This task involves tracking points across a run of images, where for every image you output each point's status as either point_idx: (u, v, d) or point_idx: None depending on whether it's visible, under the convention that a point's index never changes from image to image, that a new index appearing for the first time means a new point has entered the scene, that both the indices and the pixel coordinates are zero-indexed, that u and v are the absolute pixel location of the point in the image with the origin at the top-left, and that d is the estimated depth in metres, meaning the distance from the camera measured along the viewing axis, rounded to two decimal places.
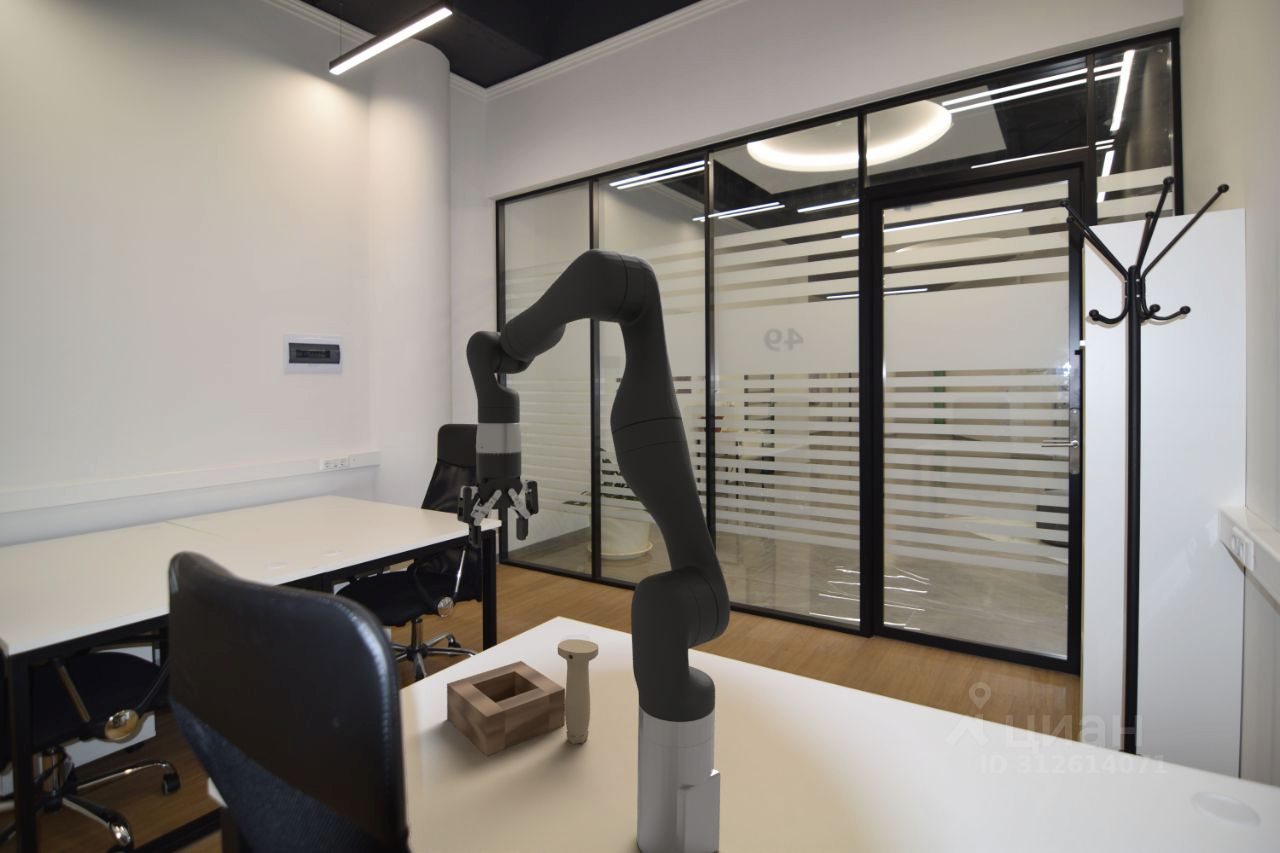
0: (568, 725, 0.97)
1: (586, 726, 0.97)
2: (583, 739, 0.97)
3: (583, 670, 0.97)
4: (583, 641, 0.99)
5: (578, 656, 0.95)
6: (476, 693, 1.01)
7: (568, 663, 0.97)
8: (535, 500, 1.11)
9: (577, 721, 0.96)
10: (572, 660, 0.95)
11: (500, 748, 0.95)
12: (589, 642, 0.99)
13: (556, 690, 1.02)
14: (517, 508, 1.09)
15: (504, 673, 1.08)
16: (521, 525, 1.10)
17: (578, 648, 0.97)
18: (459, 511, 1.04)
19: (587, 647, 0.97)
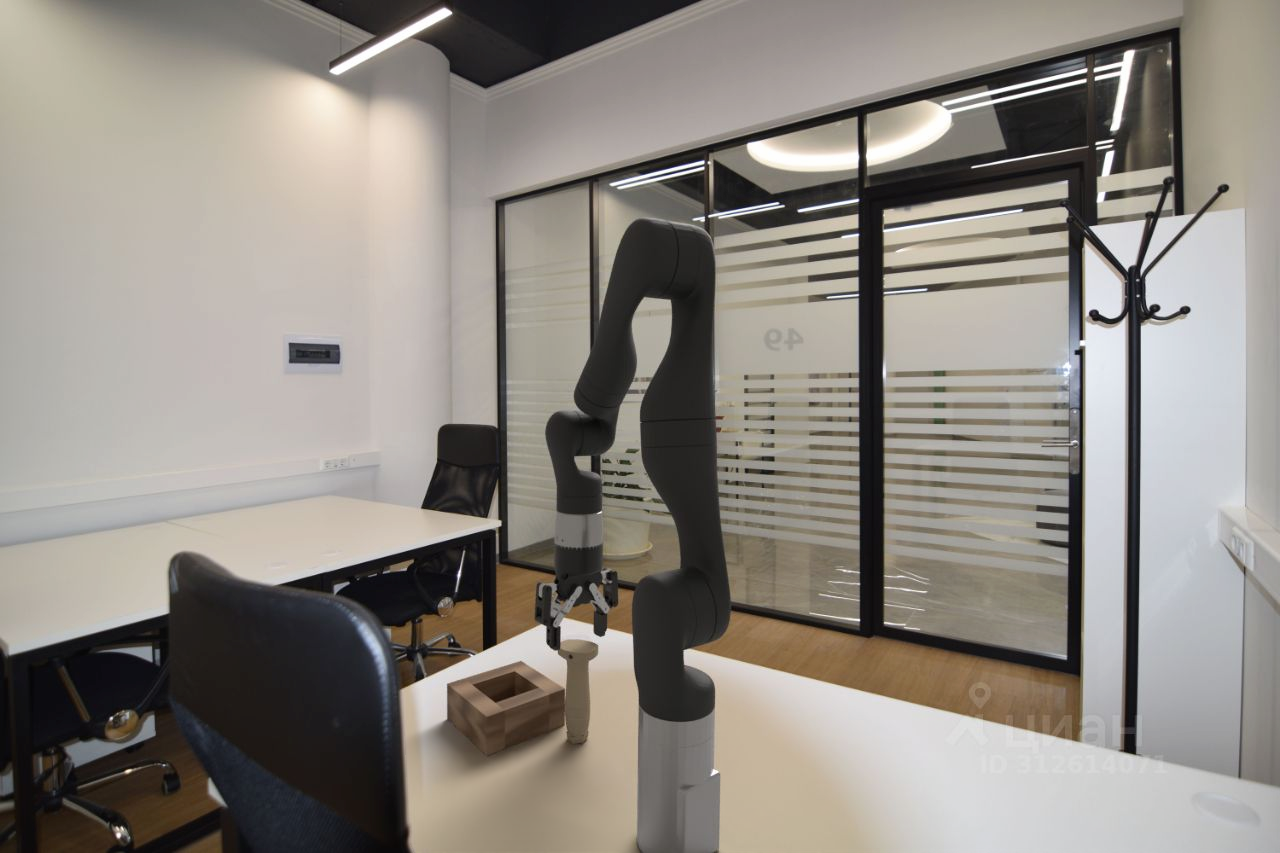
0: (568, 725, 0.97)
1: (586, 726, 0.97)
2: (583, 739, 0.97)
3: (583, 670, 0.97)
4: (583, 641, 0.99)
5: (578, 656, 0.95)
6: (476, 693, 1.01)
7: (568, 663, 0.97)
8: (615, 591, 1.01)
9: (577, 721, 0.96)
10: (572, 660, 0.95)
11: (500, 748, 0.95)
12: (589, 642, 0.99)
13: (556, 690, 1.02)
14: (597, 603, 0.98)
15: (504, 673, 1.08)
16: (600, 620, 1.00)
17: (578, 648, 0.97)
18: (537, 611, 0.93)
19: (587, 647, 0.97)
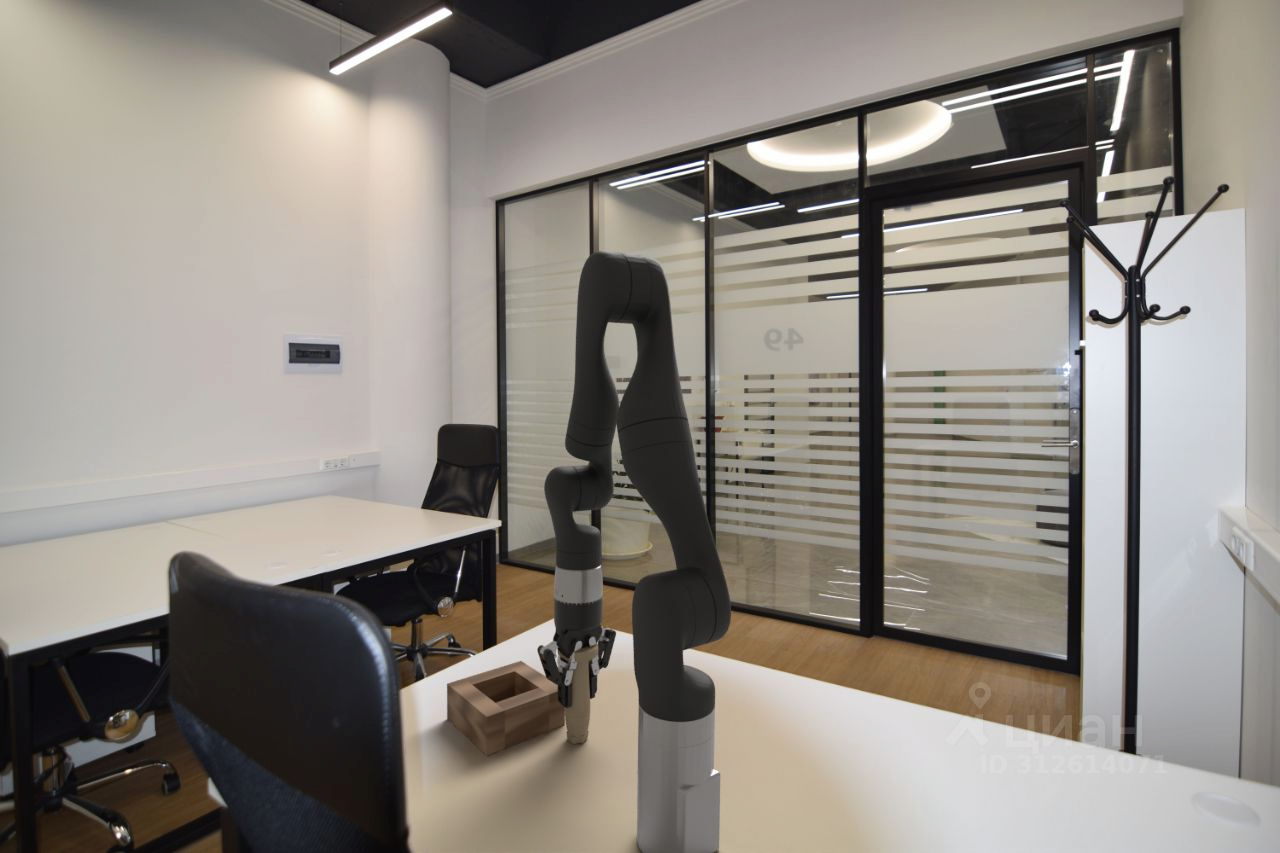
0: (568, 725, 0.97)
1: (586, 726, 0.97)
2: (583, 739, 0.97)
3: (583, 670, 0.97)
4: None
5: (578, 656, 0.95)
6: (476, 693, 1.01)
7: None
8: (608, 652, 1.00)
9: (577, 721, 0.96)
10: None
11: (500, 748, 0.95)
12: None
13: (556, 690, 1.02)
14: (590, 660, 0.98)
15: (504, 673, 1.08)
16: (590, 682, 0.99)
17: None
18: (546, 671, 0.95)
19: (587, 647, 0.97)
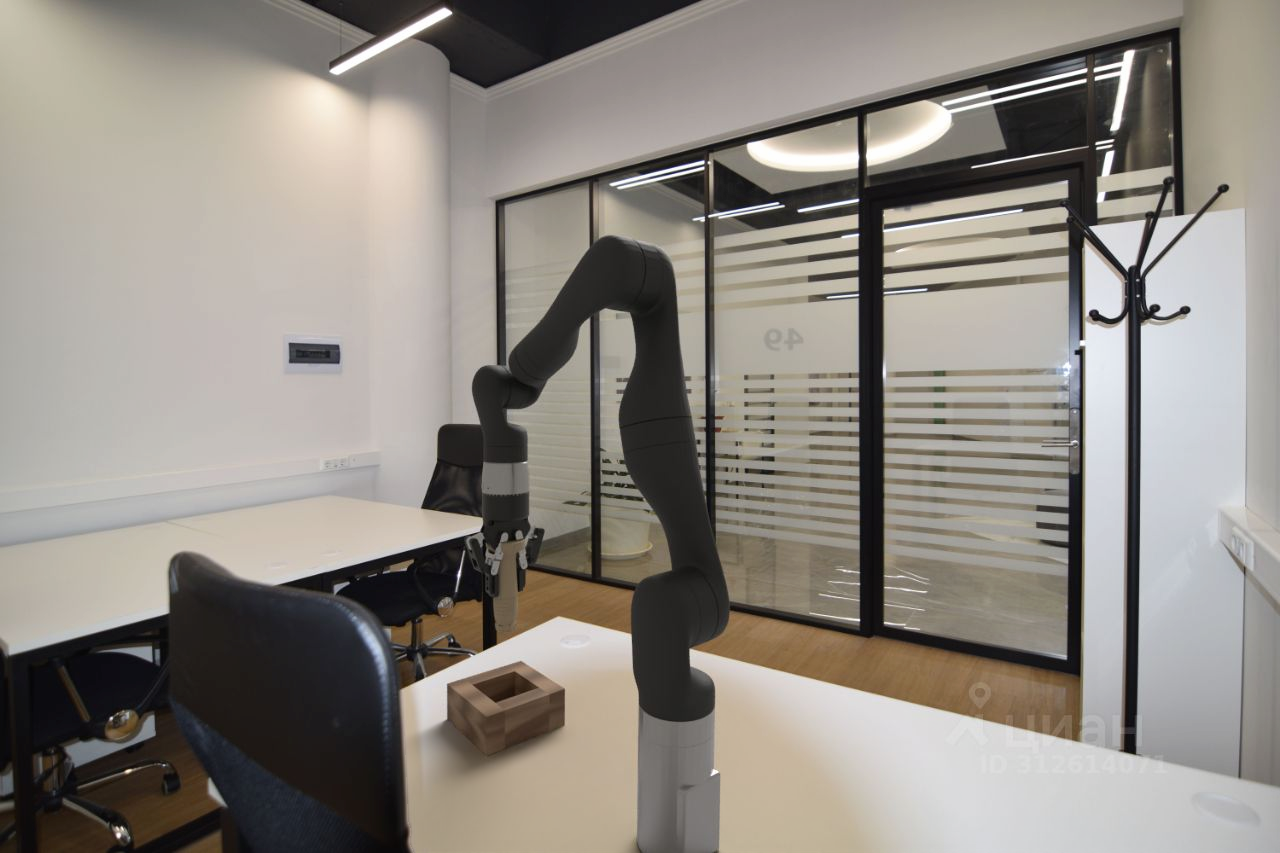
0: (496, 615, 1.01)
1: (513, 616, 1.02)
2: (510, 628, 1.01)
3: (510, 562, 1.01)
4: None
5: (503, 547, 0.99)
6: (476, 693, 1.01)
7: None
8: (537, 548, 1.05)
9: (504, 611, 1.01)
10: None
11: (500, 748, 0.95)
12: None
13: (556, 690, 1.02)
14: (517, 554, 1.02)
15: (504, 673, 1.08)
16: (518, 576, 1.03)
17: None
18: (473, 561, 0.99)
19: (514, 540, 1.02)
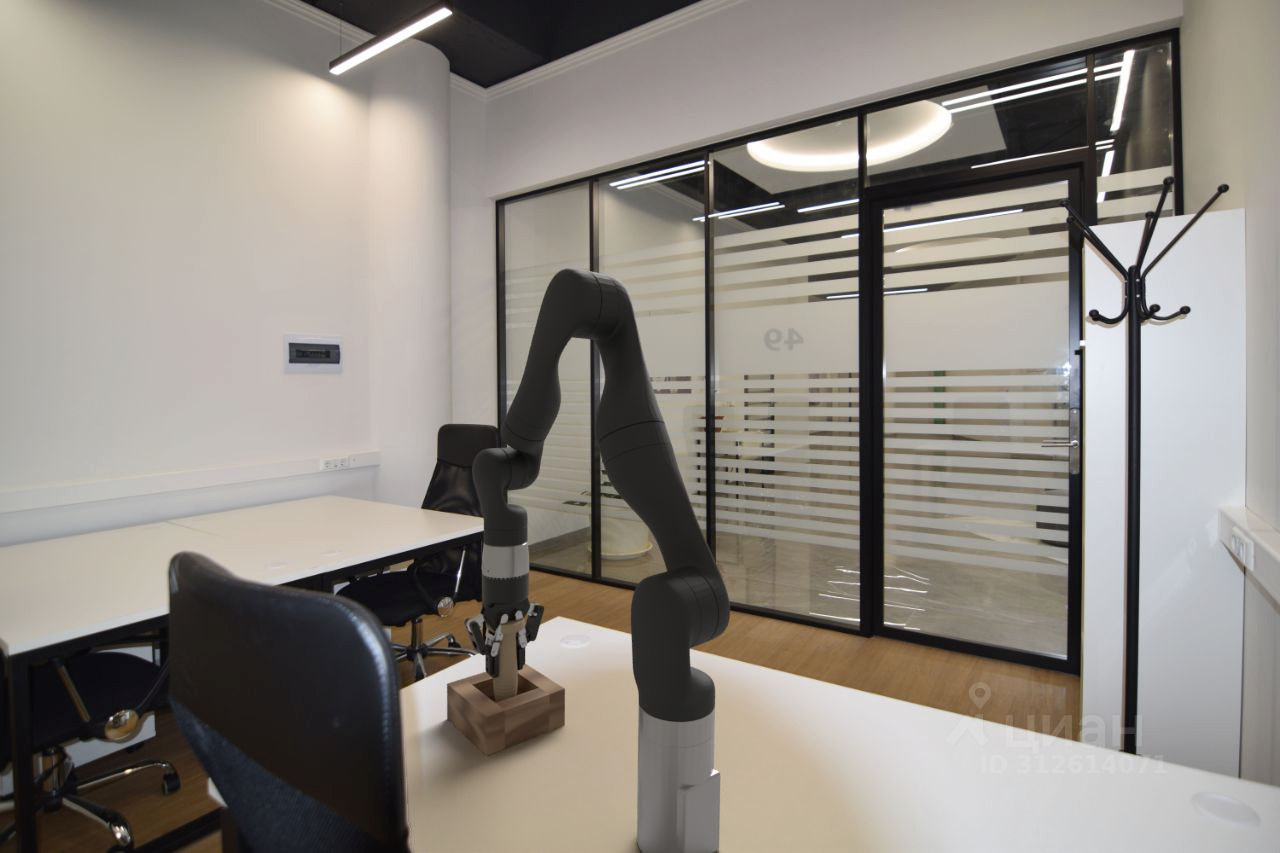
0: (495, 694, 1.02)
1: (513, 695, 1.02)
2: None
3: (509, 642, 1.02)
4: None
5: (503, 628, 1.00)
6: (476, 693, 1.01)
7: None
8: (536, 626, 1.05)
9: (504, 691, 1.01)
10: None
11: (500, 748, 0.95)
12: None
13: (556, 690, 1.02)
14: (517, 633, 1.03)
15: None
16: (518, 654, 1.04)
17: None
18: (473, 643, 1.00)
19: (514, 620, 1.02)
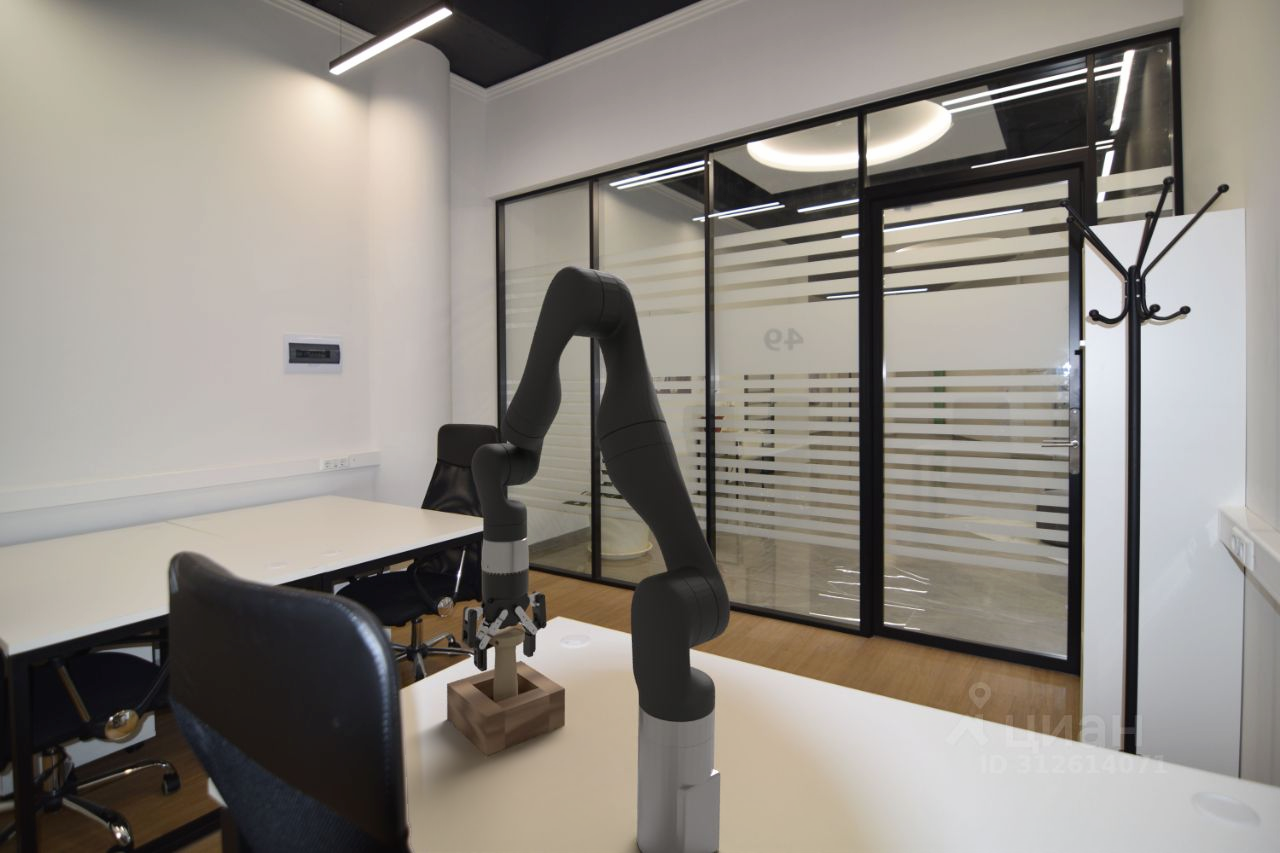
0: None
1: None
2: None
3: (509, 656, 1.02)
4: (511, 628, 1.04)
5: (503, 642, 1.00)
6: (476, 693, 1.01)
7: (495, 649, 1.02)
8: (543, 613, 1.06)
9: None
10: (498, 646, 1.01)
11: (500, 748, 0.95)
12: (517, 629, 1.04)
13: (556, 690, 1.02)
14: (524, 625, 1.04)
15: None
16: (528, 641, 1.05)
17: (505, 634, 1.02)
18: (464, 634, 0.99)
19: (514, 633, 1.02)
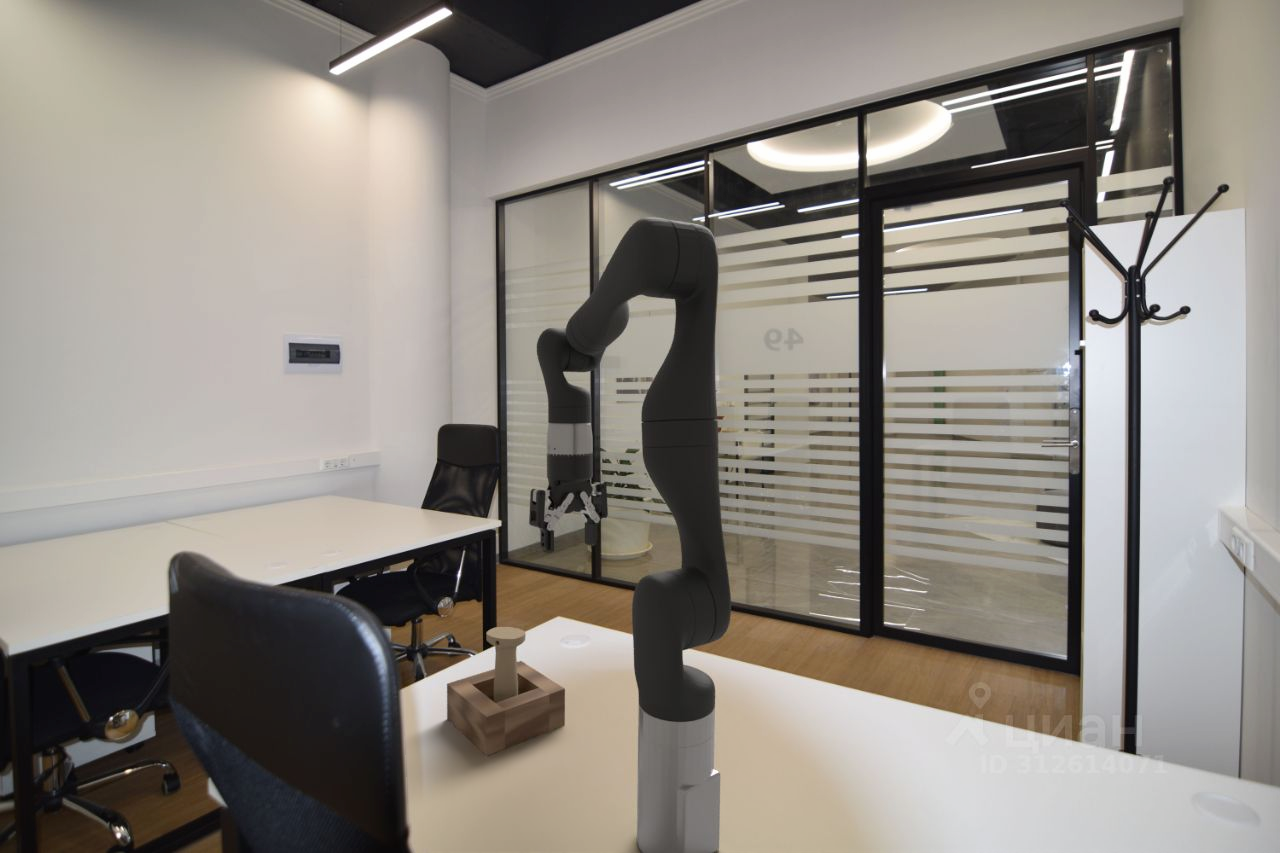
0: None
1: None
2: None
3: (510, 656, 1.02)
4: (512, 629, 1.04)
5: (504, 642, 1.00)
6: (476, 693, 1.01)
7: (496, 649, 1.02)
8: (604, 503, 1.07)
9: None
10: (499, 646, 1.00)
11: (500, 748, 0.95)
12: (517, 629, 1.04)
13: (556, 690, 1.02)
14: (587, 512, 1.04)
15: None
16: (591, 529, 1.06)
17: (506, 634, 1.02)
18: (531, 515, 0.99)
19: (514, 633, 1.02)
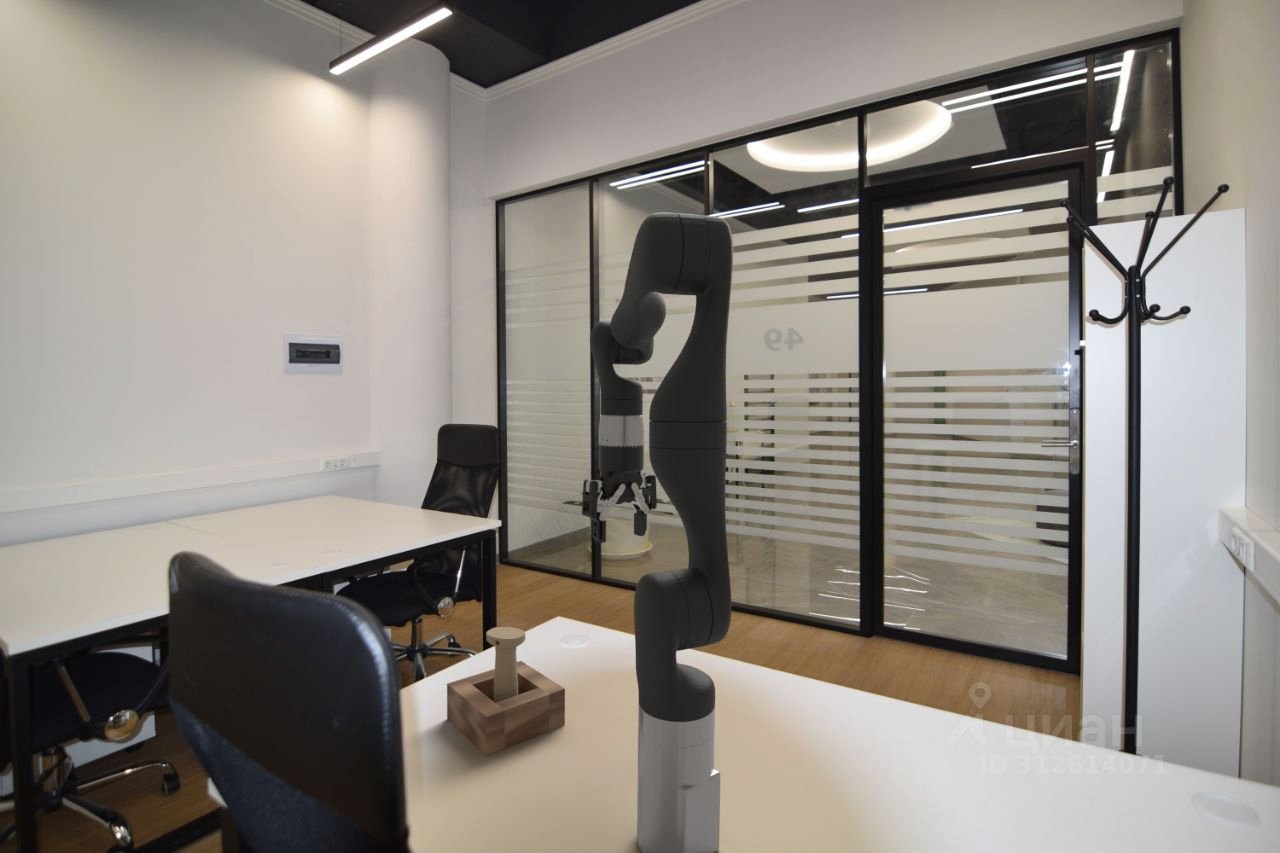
0: None
1: None
2: None
3: (510, 656, 1.02)
4: (512, 628, 1.04)
5: (504, 642, 1.00)
6: (476, 693, 1.01)
7: (496, 649, 1.02)
8: (654, 494, 1.08)
9: None
10: (499, 646, 1.00)
11: (500, 748, 0.95)
12: (517, 629, 1.04)
13: (556, 690, 1.02)
14: (638, 503, 1.06)
15: None
16: (640, 520, 1.07)
17: (506, 634, 1.02)
18: (584, 505, 1.01)
19: (514, 633, 1.02)
